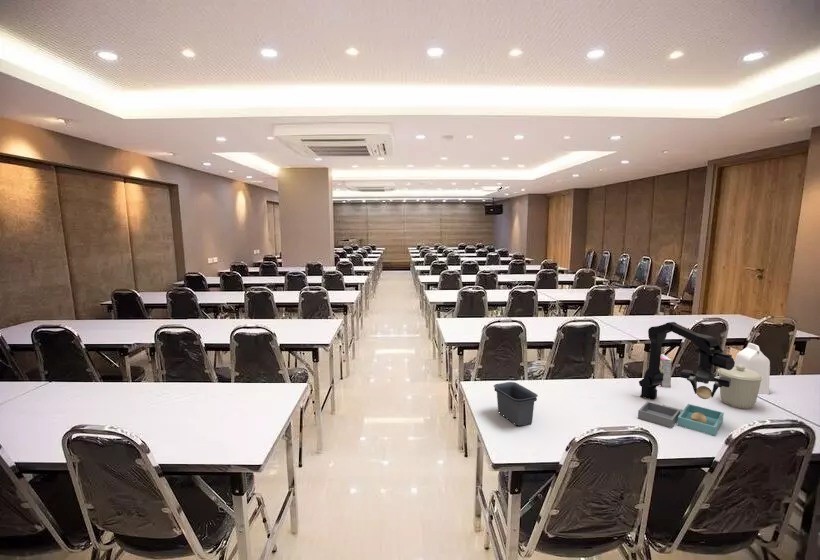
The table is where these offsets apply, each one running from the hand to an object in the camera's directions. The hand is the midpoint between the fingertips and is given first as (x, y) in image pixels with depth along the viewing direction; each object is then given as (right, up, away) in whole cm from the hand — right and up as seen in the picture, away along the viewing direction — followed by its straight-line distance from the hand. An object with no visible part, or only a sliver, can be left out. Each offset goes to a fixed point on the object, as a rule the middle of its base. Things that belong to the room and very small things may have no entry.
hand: (703, 395), depth 188 cm
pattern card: (-8, -11, +12) cm, 18 cm away
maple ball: (0, +1, 0) cm, 2 cm away
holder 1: (-19, -12, +4) cm, 23 cm away
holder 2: (-3, -12, -2) cm, 13 cm away
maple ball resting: (-6, -9, -5) cm, 12 cm away
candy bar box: (+9, -7, +46) cm, 47 cm away
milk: (+52, -7, +36) cm, 64 cm away
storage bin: (-87, -13, +6) cm, 88 cm away
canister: (+30, -10, +17) cm, 36 cm away
